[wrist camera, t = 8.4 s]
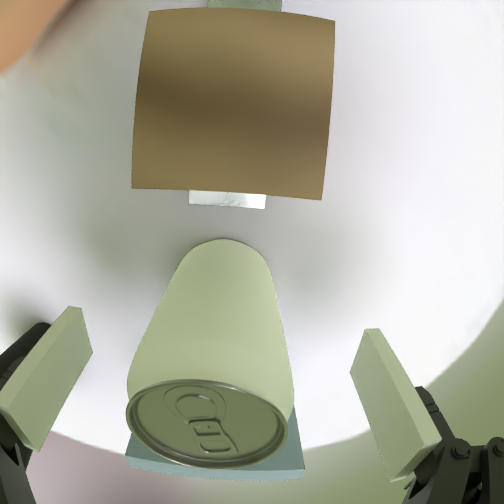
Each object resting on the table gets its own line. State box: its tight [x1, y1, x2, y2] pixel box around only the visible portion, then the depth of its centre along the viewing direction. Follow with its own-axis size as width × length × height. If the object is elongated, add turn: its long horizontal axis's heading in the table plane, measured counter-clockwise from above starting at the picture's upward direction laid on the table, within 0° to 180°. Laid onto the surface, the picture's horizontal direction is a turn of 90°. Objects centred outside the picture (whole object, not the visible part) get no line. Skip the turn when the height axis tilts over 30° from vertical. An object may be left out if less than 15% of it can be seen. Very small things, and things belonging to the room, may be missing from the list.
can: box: [126, 239, 294, 470], centre depth 14 cm, size 6×6×12 cm
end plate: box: [125, 405, 305, 481], centre depth 17 cm, size 2×10×10 cm, turn 85°
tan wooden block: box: [132, 8, 335, 200], centre depth 13 cm, size 8×8×6 cm
